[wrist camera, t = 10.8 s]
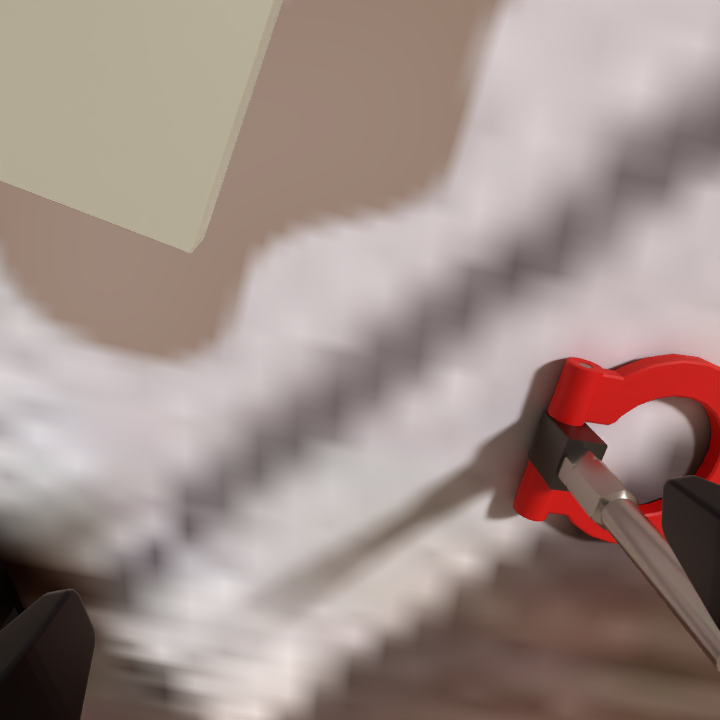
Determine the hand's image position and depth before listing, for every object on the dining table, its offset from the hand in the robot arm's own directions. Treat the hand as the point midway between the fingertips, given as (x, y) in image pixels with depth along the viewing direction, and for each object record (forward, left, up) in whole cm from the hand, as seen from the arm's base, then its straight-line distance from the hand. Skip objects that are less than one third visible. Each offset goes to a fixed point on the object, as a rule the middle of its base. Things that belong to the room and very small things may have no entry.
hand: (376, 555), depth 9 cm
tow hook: (+11, -8, -13) cm, 19 cm away
